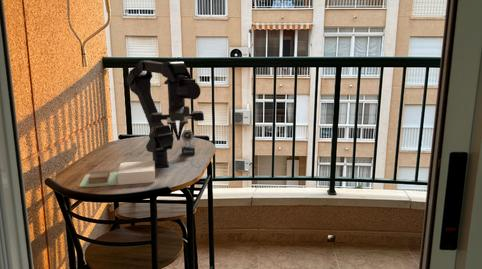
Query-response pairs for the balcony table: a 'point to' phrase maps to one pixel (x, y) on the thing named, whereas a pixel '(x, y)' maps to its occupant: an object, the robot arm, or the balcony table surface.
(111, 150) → the balcony table surface
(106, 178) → the walnut tile
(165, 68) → the robot arm
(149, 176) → the block
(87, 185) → the sage green mat
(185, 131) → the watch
